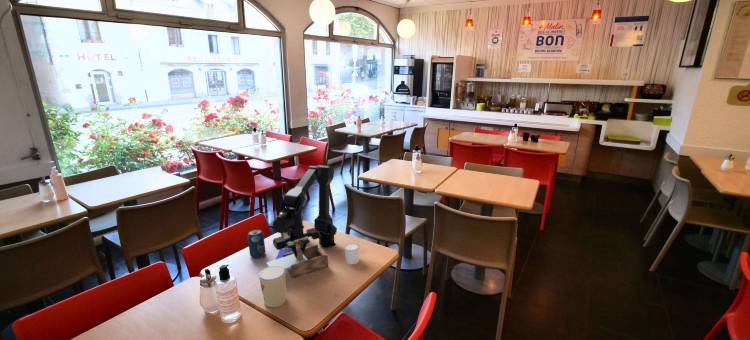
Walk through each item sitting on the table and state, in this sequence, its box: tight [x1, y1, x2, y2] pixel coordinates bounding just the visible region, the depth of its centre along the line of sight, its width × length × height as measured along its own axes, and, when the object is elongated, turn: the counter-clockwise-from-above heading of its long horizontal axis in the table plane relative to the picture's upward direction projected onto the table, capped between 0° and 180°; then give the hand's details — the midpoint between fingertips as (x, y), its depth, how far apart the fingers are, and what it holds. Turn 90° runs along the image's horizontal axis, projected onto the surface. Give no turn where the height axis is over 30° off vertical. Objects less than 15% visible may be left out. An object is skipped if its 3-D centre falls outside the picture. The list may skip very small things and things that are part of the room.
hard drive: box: [274, 248, 292, 260], centre depth 158 cm, size 2×8×12 cm
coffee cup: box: [258, 266, 287, 308], centre depth 127 cm, size 9×9×12 cm
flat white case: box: [266, 246, 308, 271], centre depth 144 cm, size 15×9×5 cm, turn 122°
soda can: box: [247, 228, 266, 259], centre depth 159 cm, size 7×7×12 cm
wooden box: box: [283, 243, 329, 280], centre depth 149 cm, size 16×11×6 cm
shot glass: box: [343, 242, 361, 265], centre depth 153 cm, size 7×7×7 cm
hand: (298, 256), depth 147 cm, fingers closed on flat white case
